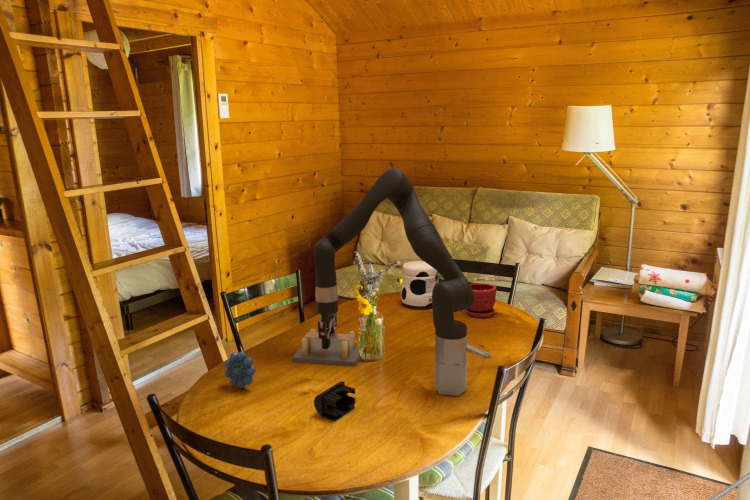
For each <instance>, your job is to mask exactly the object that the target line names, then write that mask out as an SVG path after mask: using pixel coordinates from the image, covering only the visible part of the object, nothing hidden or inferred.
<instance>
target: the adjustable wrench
mask: <svg viewBox="0 0 750 500" xmlns="http://www.w3.org/2000/svg"><path fill="white" fill-rule="evenodd" d="M470 351H471V352H470ZM467 352H470V353H472V352H473V354H474V353H475V354H474V355H477V354H478V355H477V356H479V355H480V356H479V357H481V356H482V357H481V358H483V357H485V358H484V359H486V358H489V359H491V358H492V354H491V353H490V352H487V351H486V350H482V349H481V348H478V347H476V346H473V345H471V344H469V343H467ZM486 355H488V356H486ZM490 357H491V358H490Z"/></svg>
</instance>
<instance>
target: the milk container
mask: <svg viewBox="0 0 750 500" xmlns="http://www.w3.org/2000/svg"><path fill="white" fill-rule="evenodd" d="M437 283H439V272H438V271H437V270H435V269H434V268H433V267H431V266H430V265H428V264H427V263H426V262H424V261H423V260H413V261H407V262H405V263H403V265H402V286H401V290H400V299H401V301H402V304H403V305H406V306H408V307H411V308H419V309H421V308H424V309H425V308H432V291H433V288H434V286H435V285H436V284H437Z"/></svg>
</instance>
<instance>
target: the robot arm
mask: <svg viewBox="0 0 750 500" xmlns="http://www.w3.org/2000/svg"><path fill="white" fill-rule="evenodd" d="M386 199H388V200H389V201H390V202H391V203H392V204H393V206H394V207H395V208H396V210H397V212H398V213H399V214H400V217H401V219H402V221H403V222H402V223H403V228H404V233H405V236H406V238H407V241H408V243H409V244H410V247H411V248H412V250H413V252H414V253H415V255H416V256H417V257H418V258H419V259H420V260H421V261H424V262H426V263H427V264H428V265H430V266H431V267H433V268H434V269H435V270H437V271H438V274H439V275H440V276H441V277H442V279H443V280H444V281H438V283H437V284H436V285H435V286H434V288H433V291H432V306H431V308H432V320H433V321H432V323H433V327H434V341H435V342H434V389H435V391H436V392H438V395H443V396H453V397H455V396H456V397H460V396H461V395H462V394H464V393H465V392H467V363H468V362H467V359H468V358H467V355H468V350H467V344H468V327H467V324H466V323H465V322H463V321H461V320H458V319H457V320H456V319H455V317H454V316H455V315H454V313H457V312H461V311H466V309H469V308H471V307H472V306H473V304H474V293H473V289H472V287H471V285H470V284H471V283H470V281H468V279H467V277H466V276H465V274H464V273H463V271H462V270H461V268H460V267H459V266H458V265H457V263H456V261H455V259H454V258H453V257H452V255H451V253H450V252H449V250H448V248H447V246H446V244H445V243H444V241H443V239H442V237H441V235H440V233H439V231H438V230H437V228H436V226H435V225H434V223H433V221H432V220H431V217H430V216H429V215H428V214H427V212H426V210H425V209H424V208H423V207H422V204H421V203H420V199H419V198H418V195H417V193H416V190H415V188H414V185H413V183H412V181H411V180H410V178H409V177H408V176H407V175H406V174H405V173H404V172H403V171H402V170H401V169H399V168H395V167H394V168H388V169H387V170H386V171H384V172H383V173H382V174H381V175H380V176H379V177H378V179H377V180H375V183H374V184H373V185H371V187H370V189H369V190H368V191H367V192H366V193H365V195H364V196H363V197H362V199H361V200H360V201H359V202H358V204H357V205H356V206H354V208H352V210H350V212H349V213H348V214H347V215H346V216H345V217H344V218H343V219H342V220H340V221H339V222H338V223H337V224H336V225H335V226H334V227H333V229H331V230H330V231H328V232H327V233H326V234H325V235H324V236H322V237H321V238H320V239H318V241H317V242H316V244H314V245H315V246H314V248H313V263H314V264H313V265H314V269H315V270H314V271H315V275H314V276H315V293H314V294H315V296H314V297H315V311H316V313H317V314H319V315H321V317H320V321H318V322H317V332H318V334H319V339H322V349H328V348H329V339H328V338H329V333H336V332H335V331H336V329H337V328H336V327H337V326H338V312H339V291H338V285H337V283H338V282H337V280H338V279H337V270H336V253H338V251H339V250H340V249H342V248H343V246H345V245H347V244H349V243H350V242H351V241H353V240H354V239H355V238H356V237H357V236H358V235H359V234H360V233H362V231H363V230H364V229H365V228H366V226H367V225H368V223H369V221H370V220H371V217H372V215H373V214H374V212H375V210H376V209H377V208H378V207H379V206H380V204H381V203H382V202H384V201H385V200H386ZM323 333H324V335H323Z"/></svg>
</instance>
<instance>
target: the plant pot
mask: <svg viewBox="0 0 750 500" xmlns="http://www.w3.org/2000/svg"><path fill="white" fill-rule="evenodd" d="M470 285H471V287H472V289H473V293H474V304H473V306H472V307H471V308H469V309H466V310H465V313H466V314H467V315H469V316H471V317H475V318H488V317H489V318H490V317H491V316H492V315H494V314H495V312H496V311H495V309H494V306H495V303H496V296H497V286H495V285H494V284H490V283H485V282H484V283H480V282H478V283H470Z"/></svg>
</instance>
